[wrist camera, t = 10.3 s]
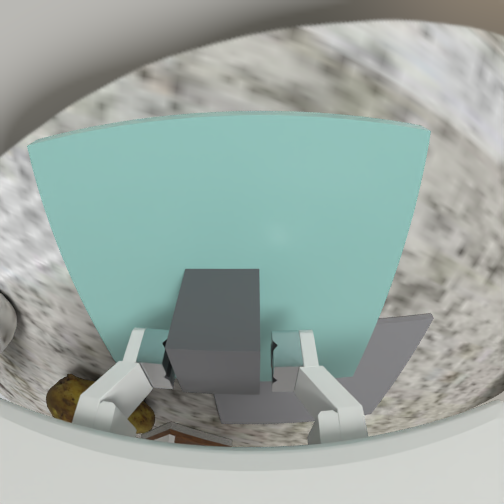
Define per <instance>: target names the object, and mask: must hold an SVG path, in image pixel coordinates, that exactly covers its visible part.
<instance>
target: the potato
mask: <svg viewBox="0 0 504 504" xmlns="http://www.w3.org/2000/svg"><path fill="white" fill-rule="evenodd" d="M95 382H96V381H89V380H85V379H81V378H78V377H76V376H74V375H72V374H67V377H64V378H63V379H60V380H59V381H58V382H57V383H56V384H55V385H54V386H53V387H51V388H50V390H49V391H48V393H47V396H46V402H47V407H48V408H49V410H50V412H51V414H52V416H53V417H54V418H56V419H60V420H63V421H66V422H70V423H72V421H73V417H74V414H75V411H76V408H77V404H78V401H79V398H80V395H81V394H82V393H83V392H85V391H86V390H87V389H88V388H89V387H90V386H91V385H92V384H94V383H95ZM128 420H129V422H130V423H131V424H132V425H133V426H134V427H135V428H136V430H137V431H136V434H138V433H145V432H148V431H150V430H151V429H152V427H153V425H154V422H155V414H154V412H153V410H152V409H151V408H150V406H149V405H148V404H146V403H145V402H144V401H142V402H141V403H140V404H139V406H138V407H137V408H136V409H135V410H134V411H133V413H132V414H131V415H130V416H129V417H128Z"/></svg>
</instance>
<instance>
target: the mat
mask: <svg viewBox="0 0 504 504" xmlns="http://www.w3.org/2000/svg"><path fill="white" fill-rule="evenodd" d="M432 320H433V316H432V314H431V313H430V314H422V315H413V316H403V317H392V318H381V319H378V321H377V323H376V326H375V328H374V330H373V333H372V335H371V337H370V340H369V342H368V344H367V347H366V349H365V351H364V353H363V356H362V358H361V360H360V362H359V364H358V366H357V368H356V371H355V373H354V375H353V376H352V377H342V378H335V379H336V380H337V381H338V382H339V383H340V384H341V385H342V386H343V387H344V388H345V389H346V390H347V391H348V392H349V393H350V394H351V395H352V396H353V397H354V398H355V399H356V400H357V401H358V402H359V403H360V404H361V405H362V407H363V412H364V415H368V414H371V413H372V412H373V410H374V409H375V408H376V406H377V405H378V404H379V403H380V401H381V400H382V398H383V397H384V396H385V394H386V393H387V392H388V390H389V389H390V387H391V386H392V385H393V383H394V382H395V380H396V379H397V377H398V376H399V374H400V373H401V371H402V370H403V368H404V367H405V365H406V364H407V362H408V361H409V359H410V358H411V356H412V354H413V353H414V351H415V350H416V348H417V346H418V345H419V343H420V341H421V340H422V338H423V336H424V334H425V333H426V331H427V329H428V327H429V326H430V324H431V322H432ZM214 397H215V401H216V405H217V408H218V412H219V416H220V420H221V423H222V424H275V423H296V422H309V421H315V420H314V418H313V417H312V416H311V414H310V413H309V412H308V410H307V409H306V408H305V406H304V405H303V404H302V403H301V401H300V400H299V399H298V397H297V396H296V395H295V393H294V391H290V392H272V384H271V381H260V395H239V394H214Z"/></svg>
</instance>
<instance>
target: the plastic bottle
mask: <svg viewBox="0 0 504 504" xmlns="http://www.w3.org/2000/svg"><path fill="white" fill-rule="evenodd" d="M16 328H17V315H16V312H15V310H14V308H13V306H12V305H11V304H10V302H9V301H8V300H7V299H6V298H5V297H4V296H3V295H2V294H1V293H0V353H1V352H2V351H3V350H4V349H5V348H6V347H7V345H8V344H9V343H10V341H11V340H12V339H13V336H14V333H15V330H16Z"/></svg>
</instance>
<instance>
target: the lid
mask: <svg viewBox="0 0 504 504" xmlns="http://www.w3.org/2000/svg"><path fill="white" fill-rule="evenodd" d="M430 133H431V131H430V130H428V129H426V128H424V127H422V126H421V125H415V124H409V123H403V122H397V121H391V120H384V119H376V118H368V117H360V116H350V115H340V114H327V113H312V112H289V111H232V112H209V113H194V114H181V115H170V116H161V117H152V118H144V119H137V120H130V121H123V122H117V123H111V124H105V125H100V126H94V127H89V128H84V129H79V130H75V131H70V132H66V133H62V134H57V135H53V136H49V137H45V138H42V139H38V140H36V141H35V142H33V143H31V144H29V145H28V146H27V147H28V151H29V156H30V160H31V164H32V168H33V171H34V175H35V179H36V182H37V186H38V189H39V193H40V196H41V199H42V202H43V205H44V208H45V211H46V214H47V217H48V220H49V223H50V226H51V229H52V231H53V234H54V237H55V239H56V242H57V245H58V247H59V250H60V252H61V255H62V257H63V260H64V262H65V264H66V267H67V269H68V271H69V274H70V276H71V278H72V280H73V283H74V285H75V287H76V289H77V291H78V293H79V295H80V298H81V300H82V302H83V304H84V306H85V308H86V310H87V312H88V314H89V316H90V318H91V319H92V321H93V323H94V325H95V327H96V329H97V331H98V333H99V334H100V336H101V338H102V340H103V342H104V343H105V345H106V347H107V349H108V350H109V352H110V354H111V355H112V357H113V359H114V360H115V362H116V363H117V362H118V361H123V358H124V354H125V351H126V348H127V345H128V342H129V339H130V336H131V333H132V330H133V329H134V328H135V327H137V328H150V329H162V330H169V334H168V338H167V342H166V346H165V350H166V352H167V355H168V357H169V360H170V362H171V365H172V367H173V370H174V372H175V378H177V380H178V382H179V384H180V387H181V389H182V391H183V392H192V393H209V394H239V395H260V381H271V371H272V368H271V363H270V348H271V332H272V331H284V330H312V331H313V334H314V340H315V345H316V351H317V357H318V363H319V366H324V367H325V368H326V370H327V371H328V372H329V373H330V374H331V375H332V376H333V377H334V378H342V377H352V376H353V375H354V373H355V371H356V368H357V366H358V364H359V362H360V360H361V358H362V356H363V353H364V351H365V349H366V347H367V344H368V342H369V340H370V337H371V335H372V333H373V330H374V328H375V326H376V323H377V321H378V318H379V316H380V313H381V311H382V308H383V305H384V303H385V300H386V298H387V295H388V292H389V289H390V287H391V284H392V281H393V278H394V275H395V272H396V269H397V266H398V263H399V260H400V257H401V254H402V251H403V248H404V244H405V241H406V238H407V234H408V231H409V227H410V224H411V220H412V217H413V213H414V209H415V205H416V201H417V197H418V193H419V189H420V185H421V180H422V176H423V171H424V166H425V161H426V156H427V151H428V145H429V139H430Z"/></svg>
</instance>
